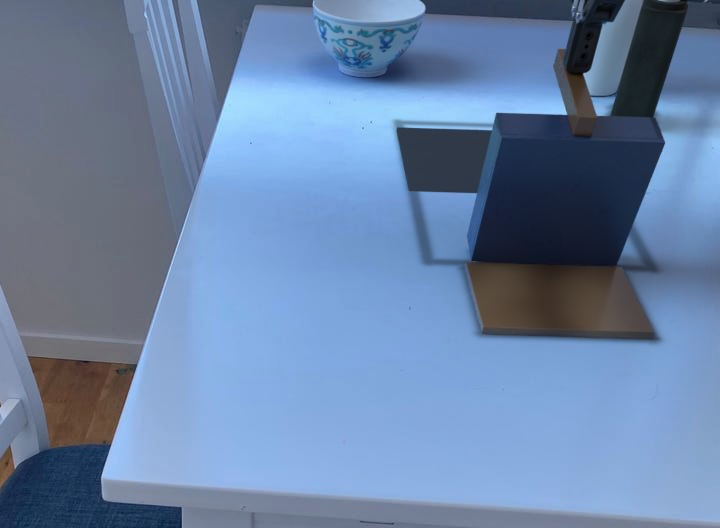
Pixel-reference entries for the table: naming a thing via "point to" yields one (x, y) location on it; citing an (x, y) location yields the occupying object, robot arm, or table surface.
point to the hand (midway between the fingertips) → (575, 69)
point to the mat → (443, 158)
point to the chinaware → (367, 32)
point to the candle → (649, 57)
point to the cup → (613, 50)
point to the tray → (562, 182)
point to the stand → (555, 301)
